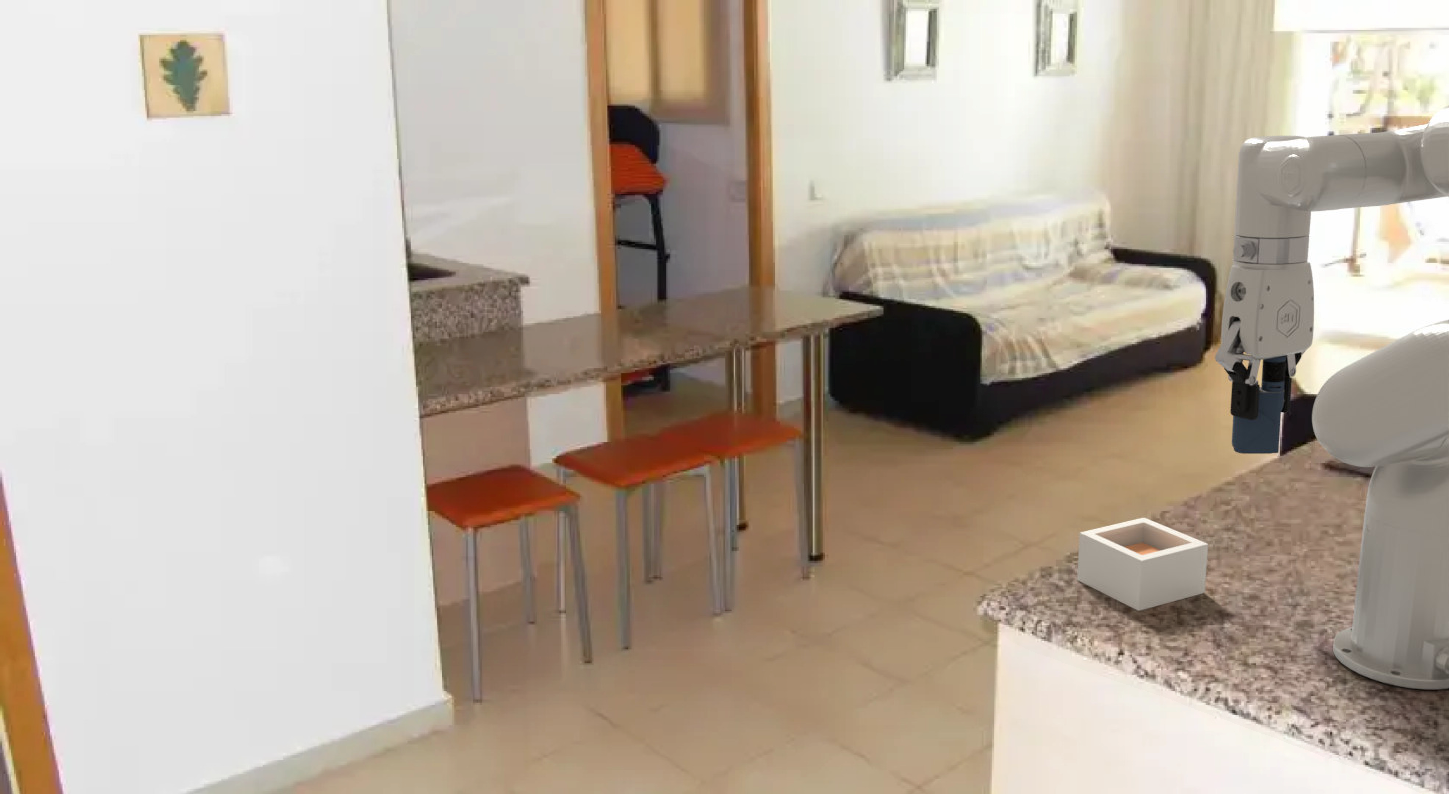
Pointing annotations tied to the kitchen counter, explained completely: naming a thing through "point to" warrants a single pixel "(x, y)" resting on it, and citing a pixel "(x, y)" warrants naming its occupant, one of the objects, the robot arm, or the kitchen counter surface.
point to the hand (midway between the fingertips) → (1259, 412)
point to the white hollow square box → (1142, 563)
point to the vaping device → (1263, 413)
